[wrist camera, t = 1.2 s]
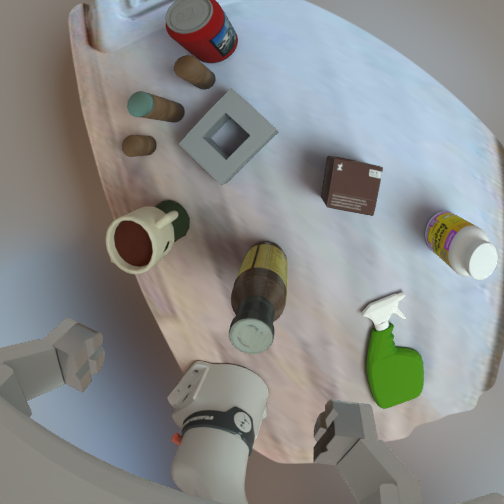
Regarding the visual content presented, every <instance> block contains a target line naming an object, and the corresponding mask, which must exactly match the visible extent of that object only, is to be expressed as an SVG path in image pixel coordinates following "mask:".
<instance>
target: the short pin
mask: <svg viewBox="0 0 504 504" xmlns="http://www.w3.org/2000/svg"><path fill="white" fill-rule="evenodd" d="M122 149H123V152H124V154H125V155H127V156H129V157H134V156H144V155H151V154H152V153H153V152H154V151H155V149H156V141H155V139H154V138H153V137H151V136H140V135H130V136H128V137H126V138H125V139H124V141H123V144H122Z"/></svg>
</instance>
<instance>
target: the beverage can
mask: <svg viewBox="0 0 504 504" xmlns="http://www.w3.org/2000/svg"><path fill="white" fill-rule="evenodd" d="M166 30H167V32H168V34H169V35H170V36H171V37H172V38H173V39H174V40H175V41H177V42H178V43H179V44H180V45H181V46H183V47H184V48H185V49H186V50H188V51H189V52H190V53H191V54H193V55H194V56H195V57H196V58H198V59H199V60H201V61H203V62H207V63H216V62H220V61H223V60H225V59H227V58H228V57H229V56H230V55H231V54H232V53H233V52H234V51H235V49H236V47H237V43H238V38H237V34H236V32H235V30H234V28H233V27H232V25H231V23H230V21H229V20H228V18H227V16H226V15H225V13H224V11H223V10H222V8H221V7H220V5H219V4H218V2H217V1H215V0H177V1H175V2H174V3H173V4H172V5H171V6H170V7H169V9H168V11H167V13H166Z"/></svg>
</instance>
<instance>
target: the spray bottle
mask: <svg viewBox="0 0 504 504" xmlns="http://www.w3.org/2000/svg"><path fill="white" fill-rule="evenodd" d="M403 298H405V294H404V292H401V293H398V294H396V293H395V294H392V295H390V296H387V297H385V298H382V299H380V300H377V301H375V302H372V303H369V305H368V306H367V307H366V308H365V309H364V310H363V311H362V313H363V316H365V317H368V318H370V319H371V320H372V321H373V323H374V325H375V328H373V329H372V332H371V337H370V342H369V347H368V354H367V365H366V366H367V376H368V382H369V385H370V389H371V392H372V395H373V398H374V400H375V402H376V403H377V405H378V406H379V407H381V408H383V409H386V408H389V407H392V406H395V405H398V404H401V403H403V402H406V401H409V400H411V399H414V398H416V397H418V396H419V395H420V394H421V392H422V389H423V381H424V370H423V361H422V358H421V355H420V354H419V353H418V352H417V351H415V350H412V349H409V348H402V347H395V346H394V345H395V343H394V341H393V338H394V335H393V334H392V333H391V332H392V330H393V327H394V325H393V324H391V323H388V320H389V318H390V316H391V315H392V313H395V314H397V315H398V316H400V317H401V318H403V319H406V317H405V316H404V315H403V314H402V313H401V312H400V311H399V309H398V307H397V306H398V304H399V300H401V299H403Z"/></svg>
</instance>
